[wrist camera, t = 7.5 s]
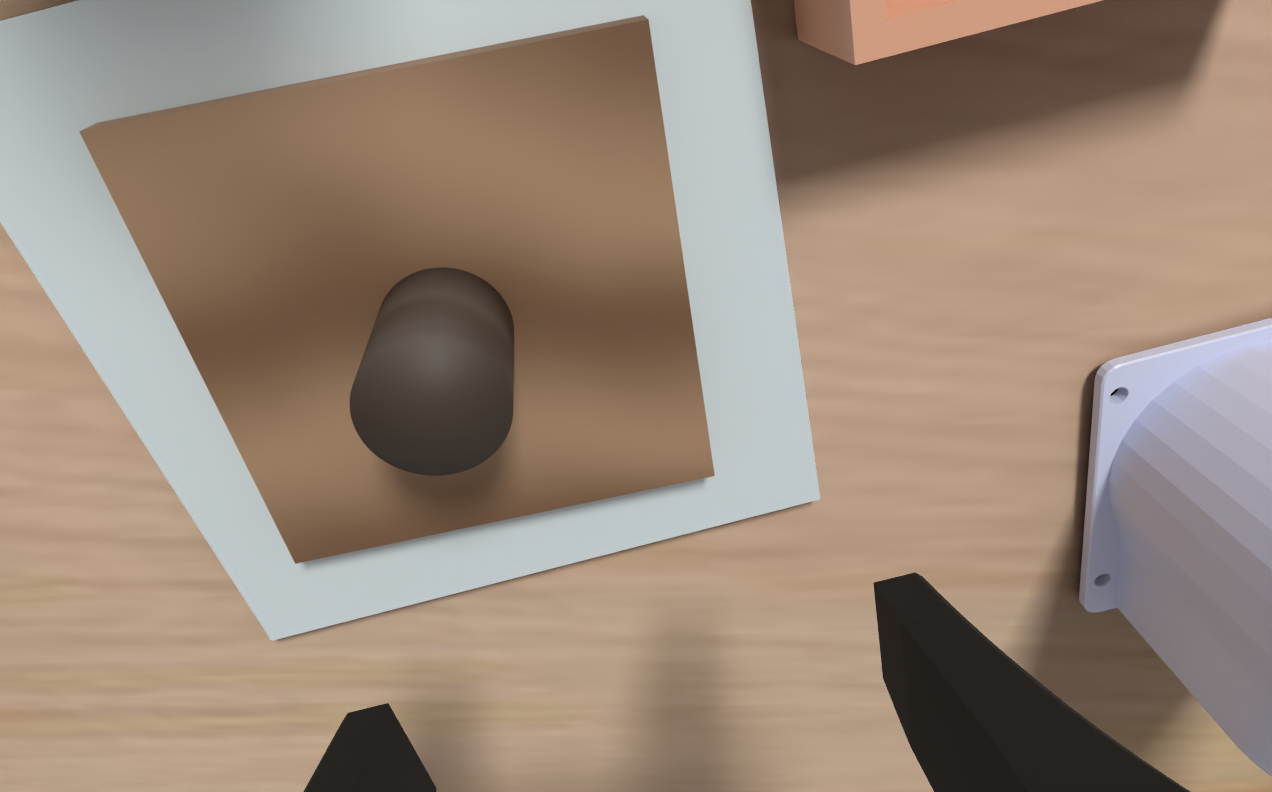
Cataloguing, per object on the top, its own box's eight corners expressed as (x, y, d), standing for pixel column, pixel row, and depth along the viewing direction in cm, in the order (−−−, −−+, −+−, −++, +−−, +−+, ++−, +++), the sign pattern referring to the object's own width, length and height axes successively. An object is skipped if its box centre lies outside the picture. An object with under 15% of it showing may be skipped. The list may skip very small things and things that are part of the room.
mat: (814, 488, 24) (820, 499, 23) (275, 627, 24) (271, 640, 24) (720, -169, 16) (726, -172, 15) (-95, 47, 16) (-111, 50, 15)
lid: (708, 458, 22) (746, 566, 19) (302, 543, 22) (258, 670, 18) (642, 15, 17) (679, 43, 13) (97, 122, 16) (-25, 182, 13)
